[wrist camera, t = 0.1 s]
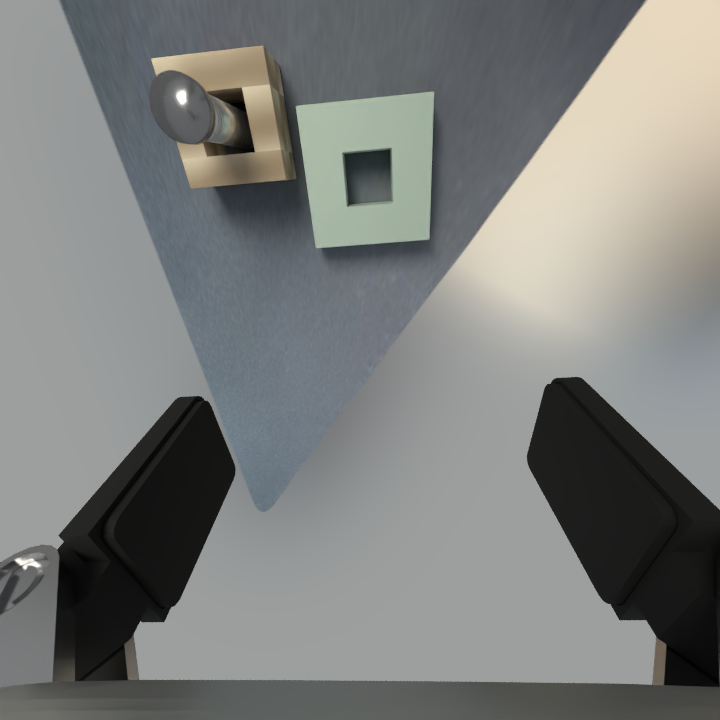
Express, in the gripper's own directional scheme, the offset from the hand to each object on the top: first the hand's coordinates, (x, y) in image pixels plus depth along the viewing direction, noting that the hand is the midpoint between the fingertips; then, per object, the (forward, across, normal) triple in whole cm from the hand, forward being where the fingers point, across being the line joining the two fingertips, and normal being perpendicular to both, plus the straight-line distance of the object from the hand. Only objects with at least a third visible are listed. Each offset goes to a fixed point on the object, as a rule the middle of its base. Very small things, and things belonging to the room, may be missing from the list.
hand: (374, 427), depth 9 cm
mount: (+31, +12, -11) cm, 35 cm away
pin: (+31, +12, -11) cm, 35 cm away
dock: (+31, 0, -6) cm, 32 cm away
